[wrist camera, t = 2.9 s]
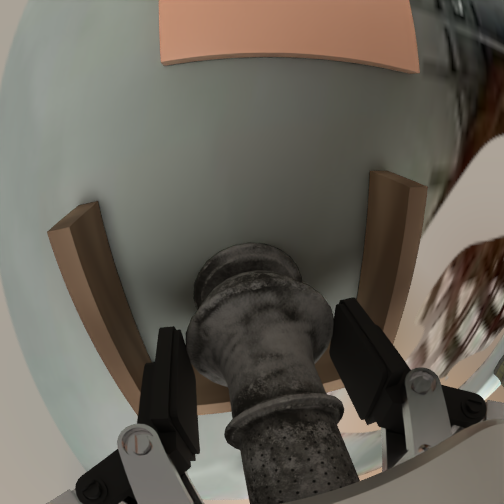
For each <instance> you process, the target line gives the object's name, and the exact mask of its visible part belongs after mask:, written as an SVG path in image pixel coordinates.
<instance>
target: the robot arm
mask: <svg viewBox="0 0 504 504" xmlns="http://www.w3.org/2000/svg"><path fill="white" fill-rule="evenodd" d="M329 354H330V358H331V360H332V362H333V364H334V366H335V368H336V370H337V372H338V374H339V376H340V378H341V380H342V382H343V384H344V386H345V388H346V390H347V393H348V395H349V397H350V399H351V401H352V403H353V405H354V407H355V409H356V411H357V413H358V415H359V417H360V419H361V420H364V419H365V421H366V423H367V425H369V424H371V423H374V422H377V424H378V426H379V427H381V437H382V473H379V474H377V475H374V476H372V477H369V478H367V479H364V480H362V481H359V482H356V483H354V484H351V485H348V486H345V487H342V488H339V489H336V490H333V491H329V492H326V493H323V494H319V495H316V496H312V497H308V498H304V499H300V500H296V501H291V502H287V503H282V504H504V403H502V402H496V401H490V400H488V401H487V402H485V401H484V399H483V398H482V397H481V396H479V395H478V394H475V393H472V392H468V391H464V390H460V389H456V388H452V387H448V386H444V385H441V383H440V380H439V378H438V376H437V375H436V374H435V373H434V372H433V371H431V370H430V369H427V368H415V369H413V370H410V368H409V367H408V365H407V364H406V362H405V361H404V360H403V358H402V357H401V355H400V354H399V353H398V351H397V350H396V349H395V347H394V346H393V344H392V343H391V341H390V340H389V339H388V337H387V336H386V335H385V333H384V332H383V331H382V329H381V328H380V327H379V326H378V325H376V324H374V322H373V321H372V320H371V318H370V317H369V316H368V314H367V313H366V312H365V310H364V309H363V308H362V306H361V305H360V304H359V302H358V301H357V300H356V299H355V298H349V299H344V300H340V302H339V304H337V305H336V308H335V316H334V327H333V336H332V338H331V343H330V350H329ZM117 445H118V449H117V450H115V451H114V452H113V453H112V454H110V455H109V456H108V457H106V458H105V459H104V460H102V461H101V462H100V463H98V464H97V465H96V466H94V467H93V468H92V469H90V470H89V471H88V472H86V473H85V474H84V475H82V476H81V477H80V478H79V479H78V481H77V483H76V488H75V489H74V490H72V491H71V490H67V491H66V492H64V493H63V494H61V495H59V496H58V497H56V498H55V499H53V500H51V501H50V502H48V503H46V504H204V502H203V501H202V499H201V497H200V496H199V494H198V492H197V490H196V489H195V487H194V485H193V483H192V481H191V479H190V478H189V476H188V474H187V472H186V471H187V470H188V469H189V468H190V467H191V462H190V461H196V460H195V454H199V453H200V446H199V432H198V415H197V394H196V378H195V373H194V370H193V367H192V364H191V362H190V359H189V356H188V353H187V350H186V346H185V343H184V339H183V336H182V333H181V330H176V329H175V327H174V326H173V327H164V328H160V329H159V335H158V342H157V350H156V358H155V362H151V363H146V364H145V366H144V371H143V378H142V386H141V393H140V402H139V411H138V421H137V424H133V425H130V426H128V427H126V428H125V429H124V430H123V431H121V433H120V435H119V436H118V440H117Z"/></svg>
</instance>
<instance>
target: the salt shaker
mask: <svg viewBox="0 0 504 504" xmlns="http://www.w3.org/2000/svg"><path fill="white" fill-rule="evenodd" d="M194 301H195V305H196V308H197V310H198V311H197V312H196V313H195V315H194V316H193V317H192V318H191V321H190V324H189V326H188V329H187V331H186V350H187V353H188V356H189V359H190V362H191V364H192V365H193V366H194V367H195V369H196V370H197V371H198V372H199V373H200V374H201V375H203V376H204V377H206V378H207V379H209V380H211V381H212V382H214V383H217V384H220V385H222V386H225V387H228V389H229V397H230V404H231V411H232V417H233V419H232V420H231V422H230V423H229V424H228V425H227V427H226V429H225V434H224V435H225V439H226V441H227V443H228V444H230V445H231V446H233V447H234V448H236V449H239V450H240V451H241V457H242V463H243V468H244V474H245V479H246V485H247V490H248V495H249V500H250V504H282V503H287V502H291V501H296V500H300V499H304V498H308V497H312V496H316V495H319V494H323V493H326V492H329V491H333V490H336V489H339V488H342V487H345V486H348V485H351V484H354V483H356V482H359V481H360V480H359V478H358V475H357V473H356V470H355V468H354V465H353V463H352V460H351V458H350V455H349V453H348V451H347V448H346V446H345V443H344V441H343V438H342V436H341V434H340V431H339V429H338V426H337V424H338V423H339V421H340V420H341V418H342V416H343V413H344V407H343V404H342V402H341V401H340V400H339V399H338V398H336V397H335V396H331V395H327V394H326V391H325V389H324V387H323V384H322V382H321V380H320V377H319V375H318V373H317V370H316V368H315V363H316V362H317V361H318V360H319V359H320V358H321V356H322V355H323V354H324V352H325V351H326V350H327V348H328V346H329V343H330V341H331V338H332V336H333V327H334V318H333V314H332V310H331V307H330V305H329V304H328V303H327V301H326V300H325V299H324V297H323V296H322V295H321V294H320V293H319V292H317V291H316V290H314V289H313V288H311V287H310V286H308V285H307V284H303V283H302V278H301V275H300V272H299V269H298V267H297V265H296V264H295V263H294V262H293V260H292V259H291V258H290V256H288V255H287V254H285V253H284V252H282V251H281V250H280V249H278V248H275V247H272V246H269V245H266V244H257V243H246V244H240V245H235V246H232V247H230V248H227V249H225V250H223V251H220V252H219V253H217V254H216V255H215V256H213V257H212V258H211V259H210V260H208V261H207V262H206V264H205V265H204V266H203V268H202V269H201V270H200V272H199V274H198V276H197V279H196V281H195V284H194Z"/></svg>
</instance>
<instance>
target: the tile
mask: <svg viewBox="0 0 504 504" xmlns="http://www.w3.org/2000/svg"><path fill="white" fill-rule="evenodd" d="M159 33H160V56H161V63H162V64H163V66H167V65H173V64H179V63H186V62H194V61H203V60H213V59H225V58H242V57H295V58H312V59H324V60H334V61H343V62H350V63H357V64H364V65H370V66H375V67H381V68H386V69H391V70H395V71H400V72H404V73H408V74H413V73H420V70H419V59H418V50H417V43H416V36H415V29H414V23H413V18H412V12H411V7H410V3H409V0H159Z"/></svg>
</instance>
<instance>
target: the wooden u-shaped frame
mask: <svg viewBox="0 0 504 504" xmlns="http://www.w3.org/2000/svg"><path fill="white" fill-rule="evenodd" d="M427 189H428V187H427V186H424V185H422V184H419V183H417V182H415V181H412V180H410V179H407V178H405V177H402V176H400V175H397V174H395V173H392V172H389V171H370V179H369V197H368V211H367V223H366V234H365V243H364V252H363V260H362V268H361V275H360V282H359V289H358V295H357V301H358V302H359V304H360V305H361V306H362V308H363V309H364V310H365V312H366V313H367V314H368V316H369V317H370V318H371V320H372V321H373V322H374V324H376V325H378V326H379V327H380V328H381V329H382V331H383V332H384V333H385V335H386V336H387V337H388V339H389V340H390V341H391V343H392V344H393V343H394V340H395V337H396V334H397V330H398V327H399V324H400V321H401V318H402V314H403V311H404V307H405V304H406V300H407V296H408V293H409V289H410V285H411V281H412V277H413V272H414V268H415V263H416V258H417V254H418V249H419V244H420V238H421V232H422V226H423V220H424V213H425V206H426V198H427ZM47 233H48V237H49V240H50V243H51V246H52V249H53V252H54V255H55V258H56V260H57V263H58V266H59V269H60V271H61V274H62V276H63V279H64V282H65V284H66V286H67V289H68V291H69V294H70V296H71V298H72V301H73V303H74V305H75V307H76V310H77V312H78V314H79V316H80V318H81V320H82V322H83V324H84V326H85V329H86V331H87V333H88V334H89V336H90V338H91V340H92V342H93V344H94V346H95V348H96V350H97V352H98V353H99V355H100V357H101V359H102V360H103V362H104V364H105V366H106V367H107V369H108V371H109V372H110V374H111V376H112V377H113V379H114V381H115V382H116V384H117V386H118V387H119V389H120V390H121V392H122V393H123V395H124V396H125V398H126V399H127V401H128V402H129V404H130V405H131V407H132V408H133V410H134V411H135V412H136V414H137V415H138V411H139V402H140V393H141V386H142V378H143V371H144V366H145V364H146V363H151V360H150V357H149V355H148V353H147V351H146V348H145V346H144V344H143V341H142V339H141V336H140V334H139V331H138V329H137V326H136V324H135V321H134V319H133V316H132V313H131V311H130V308H129V305H128V303H127V300H126V297H125V294H124V291H123V288H122V285H121V282H120V279H119V276H118V273H117V270H116V267H115V264H114V260H113V257H112V254H111V250H110V247H109V243H108V240H107V236H106V232H105V228H104V224H103V220H102V216H101V212H100V208H99V204H98V201H96V202H92V203H87V204H83V205H78V206H77V207H76V208H75V209H73V210H72V211H71V212H70V213H69V214H67V215H66V216H65V217H64V218H63V219H61V220H60V221H59V222H58V223H57V224H56V225H54V226H53V227H52V228H51V229H50V230H49V231H48V232H47ZM330 343H331V341H330ZM330 343H329V346H328V348H327V350H326V351H325V352H324V354H323V355H322V356H321V358H320V359H319V360H318V361H317V362H316V363H315V368H316V370H317V373H318V375H319V377H320V380H321V382H322V384H323V387H324V389H325V391H326V393H327V392H330V391H334V390H338V389H341V388H344V387H345V386H344V384H343V382H342V380H341V378H340V376H339V374H338V372H337V370H336V368H335V366H334V364H333V362H332V360H331V358H330V354H329V350H330ZM192 367H193V370H194V373H195V378H196V394H197V415H205V414H214V413H223V412H231V404H230V397H229V389H228V387H225V386H222V385H220V384H217V383H214V382H212V381H211V380H209V379H207V378H206V377H204V376H203V375H201V374H200V373H199V372H198V371H197V370H196V369H195V367H194V366H193V365H192Z"/></svg>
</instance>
